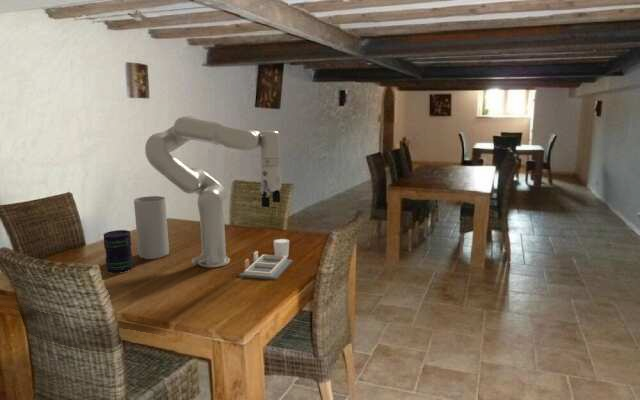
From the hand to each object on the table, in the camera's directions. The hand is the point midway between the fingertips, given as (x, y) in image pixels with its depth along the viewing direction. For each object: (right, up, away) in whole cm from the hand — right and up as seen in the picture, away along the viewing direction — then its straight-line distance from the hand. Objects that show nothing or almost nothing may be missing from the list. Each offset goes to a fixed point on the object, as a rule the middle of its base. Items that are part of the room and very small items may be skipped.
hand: (271, 204), depth 188 cm
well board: (-1, -26, -3) cm, 26 cm away
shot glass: (+3, -23, +12) cm, 26 cm away
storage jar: (-60, -26, -3) cm, 65 cm away
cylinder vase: (-53, -23, +15) cm, 59 cm away
